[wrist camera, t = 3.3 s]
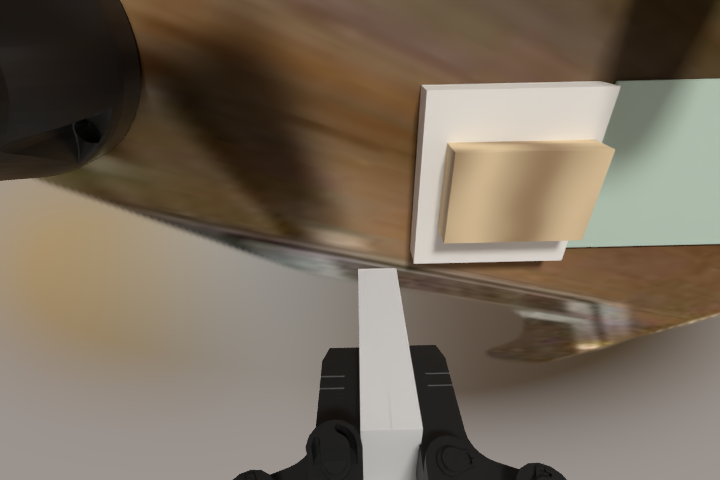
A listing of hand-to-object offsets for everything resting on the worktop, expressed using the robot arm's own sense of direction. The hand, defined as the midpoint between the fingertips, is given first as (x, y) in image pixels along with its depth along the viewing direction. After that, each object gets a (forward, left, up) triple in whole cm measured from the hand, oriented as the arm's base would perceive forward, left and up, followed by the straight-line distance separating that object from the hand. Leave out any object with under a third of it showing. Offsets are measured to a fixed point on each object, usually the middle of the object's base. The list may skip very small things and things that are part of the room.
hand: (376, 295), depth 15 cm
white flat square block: (+9, 0, -12) cm, 15 cm away
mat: (+22, 0, -12) cm, 25 cm away
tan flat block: (+9, 0, -10) cm, 14 cm away
